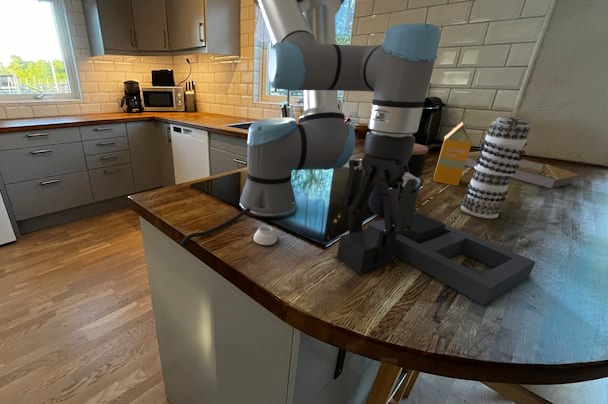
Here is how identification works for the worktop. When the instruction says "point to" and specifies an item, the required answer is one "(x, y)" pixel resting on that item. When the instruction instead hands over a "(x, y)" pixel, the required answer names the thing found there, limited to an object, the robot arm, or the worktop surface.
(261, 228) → the white upturned bowl
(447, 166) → the orange juice
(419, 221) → the pad
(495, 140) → the decorative candle
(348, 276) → the worktop surface
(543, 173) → the rafter model
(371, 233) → the pad
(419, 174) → the coffee jar
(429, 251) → the base pad
